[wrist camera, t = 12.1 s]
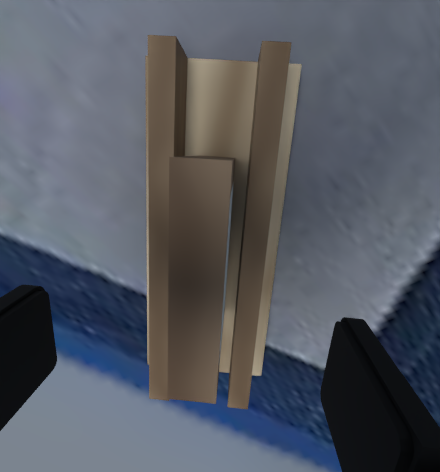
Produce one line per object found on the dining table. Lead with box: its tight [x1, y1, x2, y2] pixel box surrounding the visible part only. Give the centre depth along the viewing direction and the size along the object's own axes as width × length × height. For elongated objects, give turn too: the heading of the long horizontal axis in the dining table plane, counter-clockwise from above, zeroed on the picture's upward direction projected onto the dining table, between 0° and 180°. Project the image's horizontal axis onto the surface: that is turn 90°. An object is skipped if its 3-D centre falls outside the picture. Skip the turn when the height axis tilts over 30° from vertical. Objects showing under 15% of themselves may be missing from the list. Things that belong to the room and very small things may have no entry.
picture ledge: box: [146, 35, 302, 409], centre depth 21 cm, size 10×24×6 cm, turn 176°
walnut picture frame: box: [167, 156, 235, 404], centre depth 17 cm, size 2×12×9 cm, turn 177°
